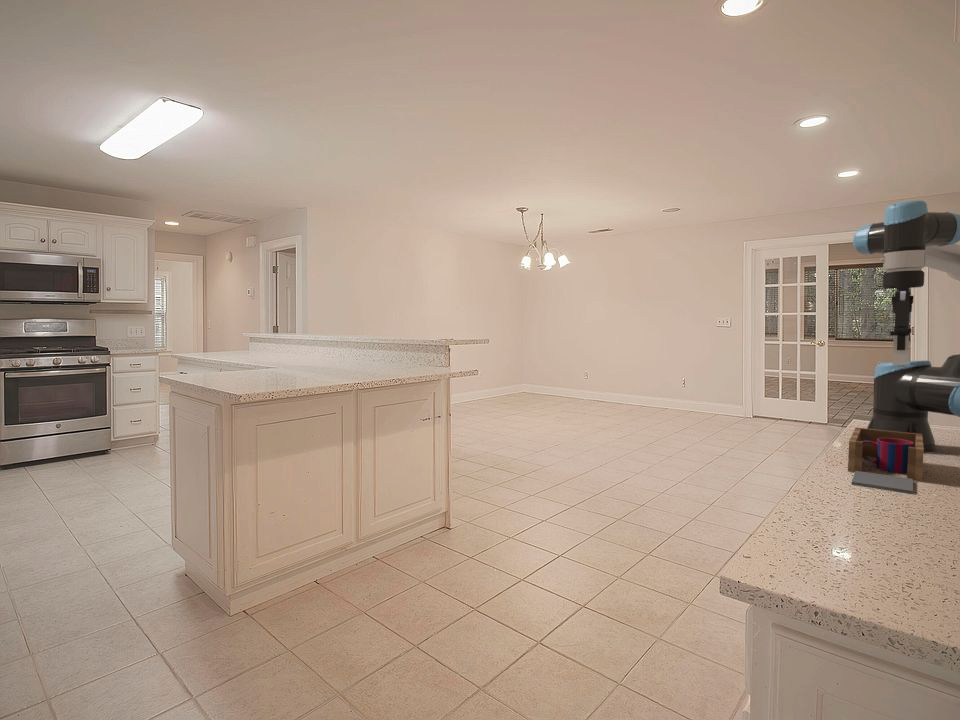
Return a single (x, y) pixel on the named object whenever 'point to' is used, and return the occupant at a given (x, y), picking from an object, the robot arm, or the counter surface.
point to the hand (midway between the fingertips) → (900, 362)
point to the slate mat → (883, 482)
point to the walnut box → (870, 449)
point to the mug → (891, 454)
